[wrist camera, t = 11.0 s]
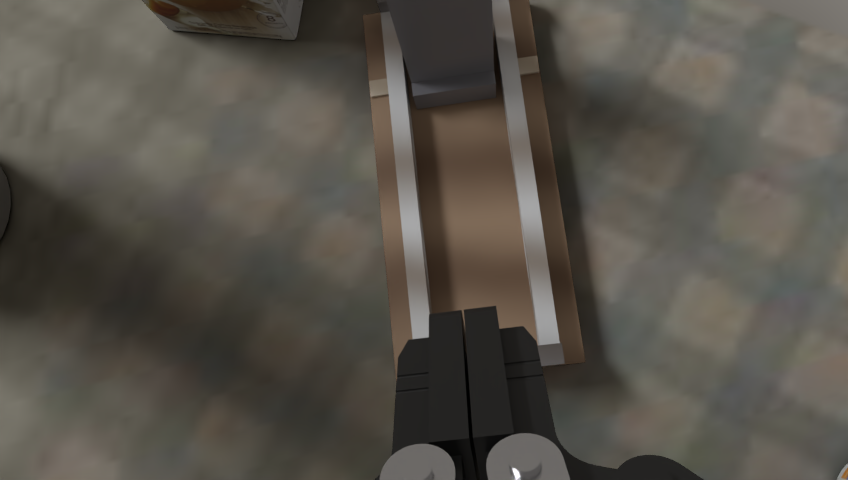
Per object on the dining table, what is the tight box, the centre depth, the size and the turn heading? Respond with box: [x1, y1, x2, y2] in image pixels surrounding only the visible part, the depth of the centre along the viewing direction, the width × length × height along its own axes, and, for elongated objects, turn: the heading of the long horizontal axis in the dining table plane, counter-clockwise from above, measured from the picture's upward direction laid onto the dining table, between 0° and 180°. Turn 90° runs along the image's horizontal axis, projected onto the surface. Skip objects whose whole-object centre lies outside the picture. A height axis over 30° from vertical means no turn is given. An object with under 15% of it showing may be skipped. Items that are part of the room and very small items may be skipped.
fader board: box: [363, 0, 585, 382], centre depth 36 cm, size 22×10×4 cm, turn 6°
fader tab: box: [386, 0, 496, 109], centre depth 32 cm, size 4×5×12 cm
